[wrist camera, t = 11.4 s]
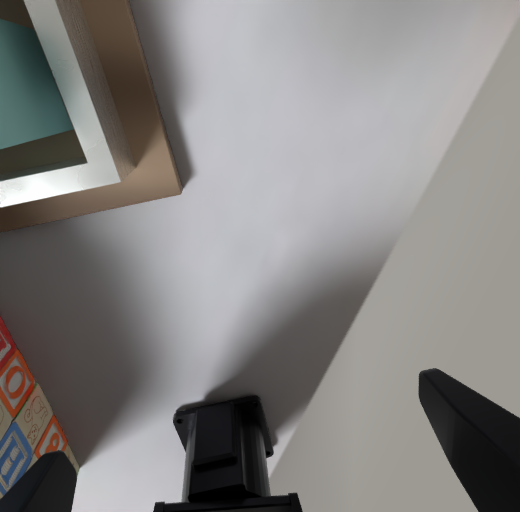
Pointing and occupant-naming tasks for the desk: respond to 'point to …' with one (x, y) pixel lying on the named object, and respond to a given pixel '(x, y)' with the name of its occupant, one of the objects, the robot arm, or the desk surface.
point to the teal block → (27, 89)
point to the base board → (131, 116)
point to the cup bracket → (73, 110)
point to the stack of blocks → (23, 417)
